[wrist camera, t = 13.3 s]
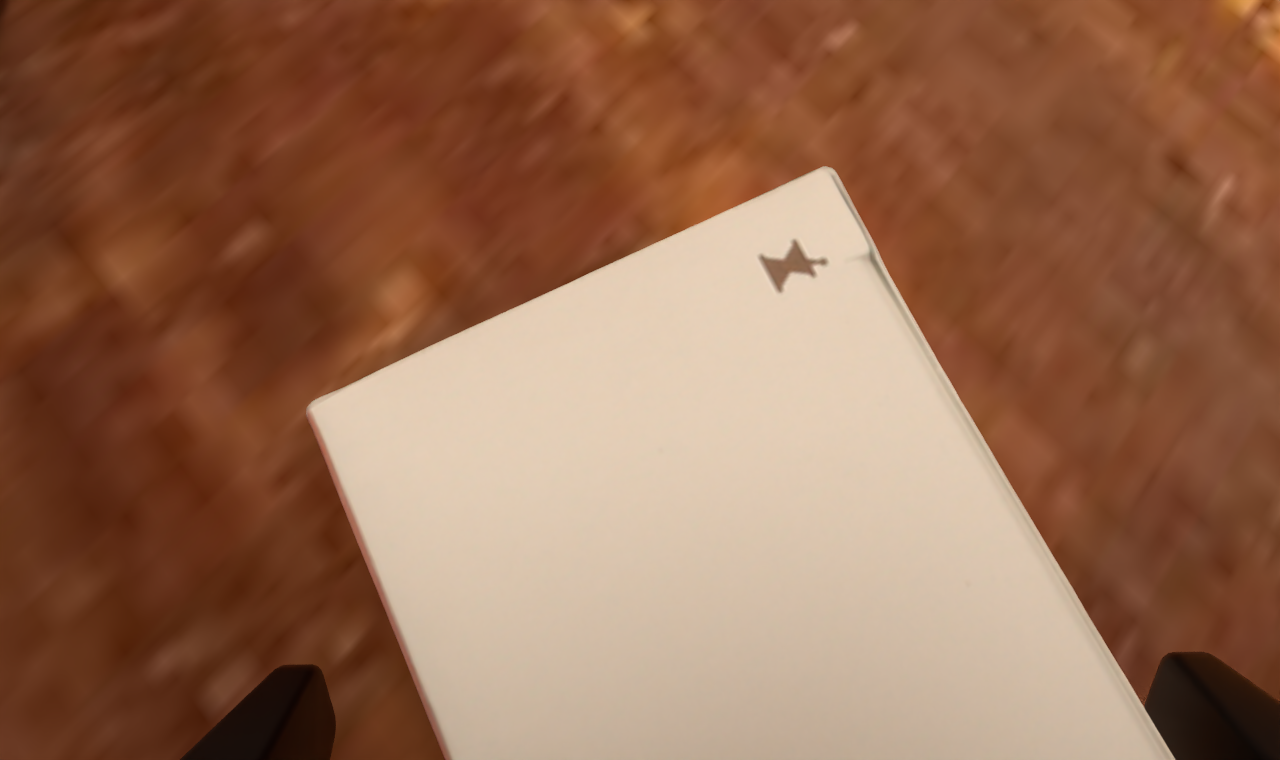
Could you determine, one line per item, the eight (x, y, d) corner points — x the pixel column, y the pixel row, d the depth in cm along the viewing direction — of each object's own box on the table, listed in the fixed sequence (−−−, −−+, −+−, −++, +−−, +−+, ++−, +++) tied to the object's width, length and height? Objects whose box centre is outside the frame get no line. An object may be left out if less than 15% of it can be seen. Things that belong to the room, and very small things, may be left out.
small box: (490, 514, 18) (277, 381, 8) (737, 397, 19) (829, 133, 9) (663, 914, 16) (670, 1402, 6) (932, 772, 17) (1350, 1002, 7)
